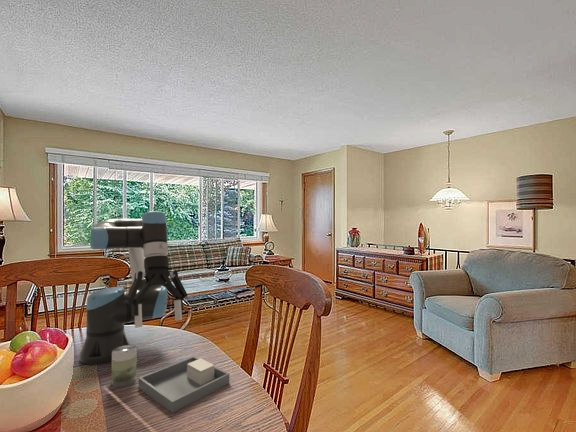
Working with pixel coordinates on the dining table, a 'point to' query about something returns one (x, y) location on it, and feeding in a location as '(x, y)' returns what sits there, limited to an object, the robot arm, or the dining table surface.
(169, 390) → the tray
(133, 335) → the dining table surface
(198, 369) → the cream rectangular block
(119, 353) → the tin can
